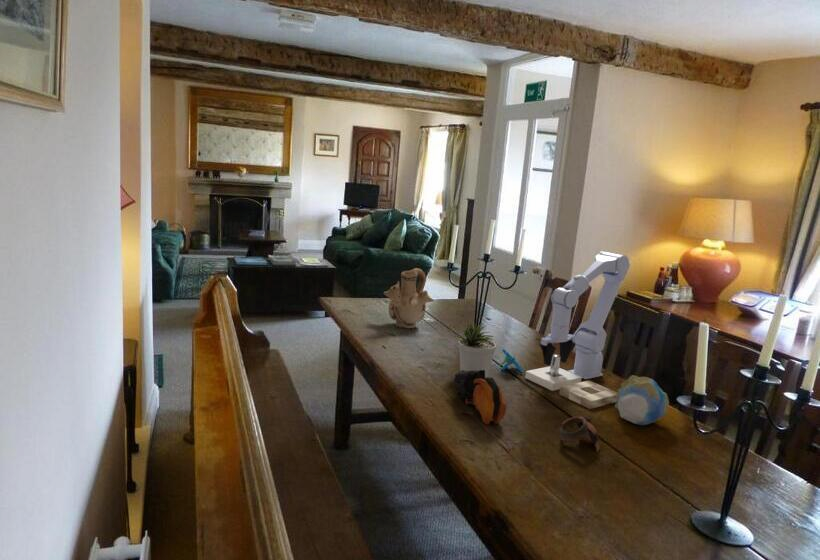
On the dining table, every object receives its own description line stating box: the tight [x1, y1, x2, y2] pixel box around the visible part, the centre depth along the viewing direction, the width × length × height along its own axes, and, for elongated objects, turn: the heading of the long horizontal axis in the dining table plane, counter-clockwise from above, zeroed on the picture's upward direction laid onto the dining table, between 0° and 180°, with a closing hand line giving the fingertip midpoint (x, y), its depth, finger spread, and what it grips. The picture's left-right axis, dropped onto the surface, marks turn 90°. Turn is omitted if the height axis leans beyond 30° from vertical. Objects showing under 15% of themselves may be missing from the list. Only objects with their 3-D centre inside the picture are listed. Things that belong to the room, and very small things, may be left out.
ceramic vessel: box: [383, 267, 435, 329], centre depth 238 cm, size 18×19×25 cm
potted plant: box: [454, 319, 497, 378], centre depth 186 cm, size 13×14×20 cm
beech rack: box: [559, 380, 618, 410], centre depth 176 cm, size 14×12×2 cm
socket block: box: [524, 366, 583, 392], centre depth 188 cm, size 14×12×2 cm
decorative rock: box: [614, 375, 670, 426], centre depth 162 cm, size 14×16×15 cm
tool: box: [454, 370, 507, 426], centre depth 161 cm, size 8×23×15 cm, turn 18°
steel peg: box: [549, 353, 561, 377], centre depth 188 cm, size 3×3×9 cm
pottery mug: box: [558, 415, 601, 453], centre depth 145 cm, size 12×10×8 cm
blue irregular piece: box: [499, 348, 524, 372], centre depth 196 cm, size 11×6×10 cm
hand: (555, 363), depth 187 cm, fingers open, 7 cm apart
